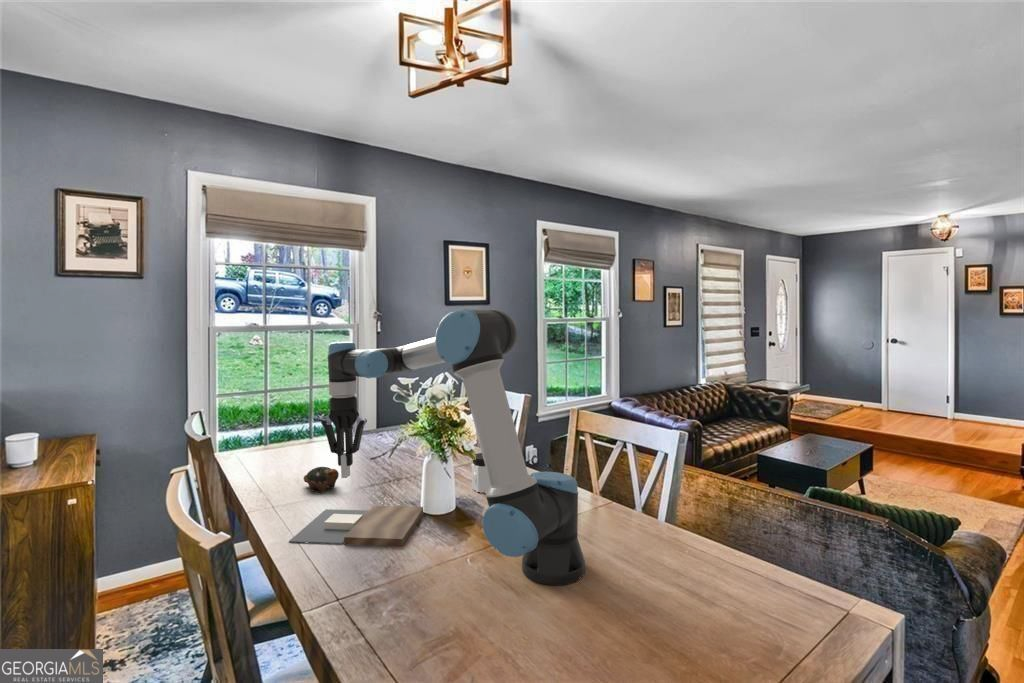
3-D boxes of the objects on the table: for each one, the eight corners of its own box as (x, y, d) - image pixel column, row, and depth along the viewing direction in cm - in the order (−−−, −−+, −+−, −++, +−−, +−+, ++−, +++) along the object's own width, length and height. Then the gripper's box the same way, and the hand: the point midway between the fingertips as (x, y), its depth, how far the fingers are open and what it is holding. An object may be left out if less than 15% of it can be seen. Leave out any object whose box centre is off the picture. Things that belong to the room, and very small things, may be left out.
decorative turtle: (331, 495, 169) (328, 473, 168) (295, 493, 174) (292, 471, 173) (349, 485, 178) (346, 463, 178) (314, 483, 183) (312, 462, 183)
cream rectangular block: (362, 521, 147) (362, 514, 147) (354, 530, 141) (354, 523, 141) (333, 520, 148) (333, 513, 148) (324, 529, 142) (323, 522, 142)
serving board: (423, 513, 154) (423, 506, 154) (402, 546, 132) (402, 538, 132) (373, 511, 155) (373, 505, 155) (344, 544, 133) (343, 537, 133)
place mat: (372, 511, 155) (372, 510, 155) (342, 544, 133) (342, 542, 133) (325, 510, 156) (325, 509, 156) (288, 542, 134) (288, 541, 134)
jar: (468, 488, 176) (467, 454, 175) (487, 483, 180) (487, 451, 180) (481, 495, 168) (481, 460, 168) (501, 490, 173) (501, 456, 172)
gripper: (370, 393, 145) (372, 472, 147) (327, 393, 147) (329, 472, 148) (360, 397, 138) (362, 481, 139) (315, 397, 139) (318, 480, 140)
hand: (345, 476), depth 143 cm, fingers closed
